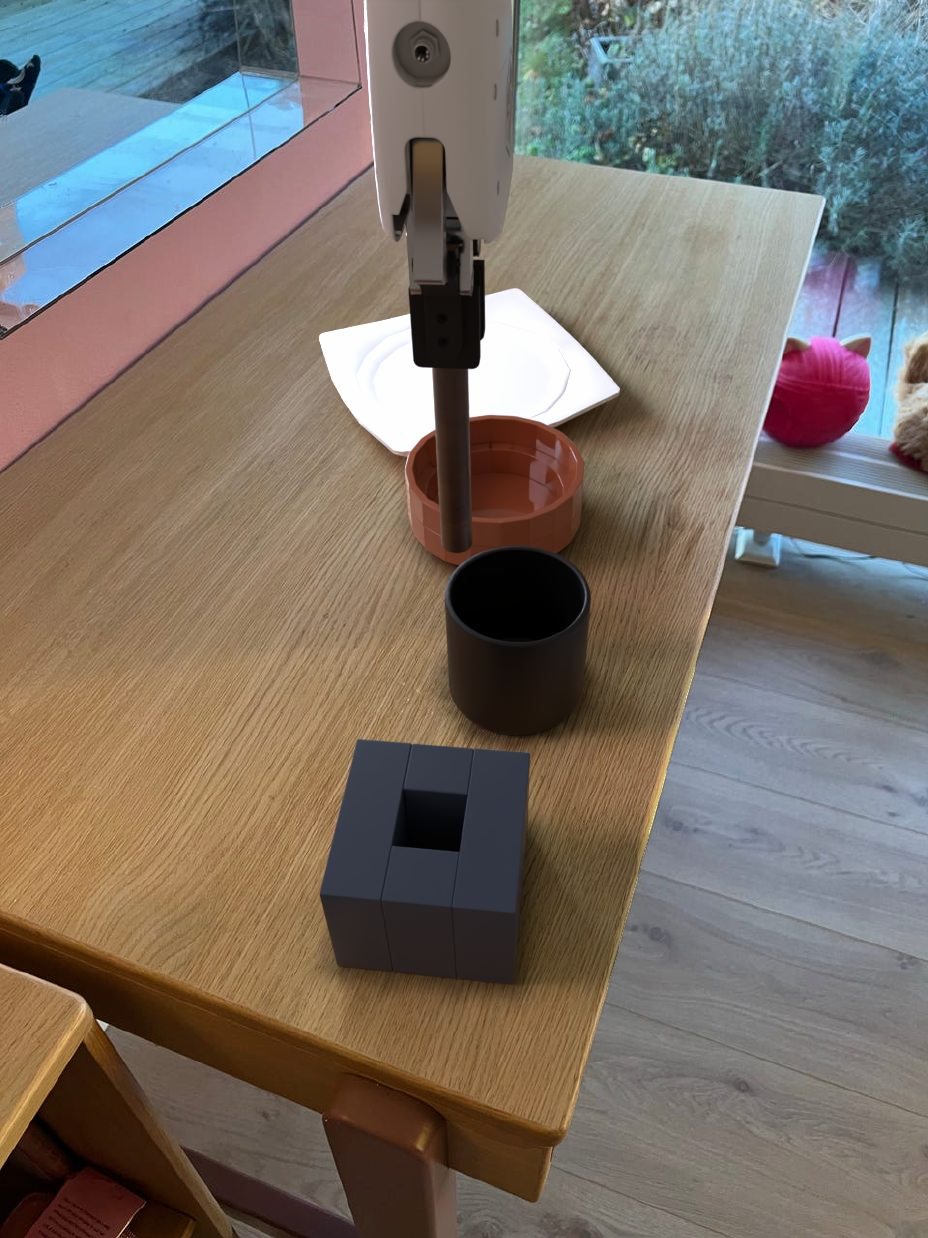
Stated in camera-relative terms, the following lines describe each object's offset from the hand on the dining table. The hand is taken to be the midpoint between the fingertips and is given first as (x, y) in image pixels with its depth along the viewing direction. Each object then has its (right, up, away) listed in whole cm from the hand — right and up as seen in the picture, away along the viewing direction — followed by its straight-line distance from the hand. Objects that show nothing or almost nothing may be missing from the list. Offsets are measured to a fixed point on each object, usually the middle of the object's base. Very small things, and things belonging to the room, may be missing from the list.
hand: (450, 348), depth 49 cm
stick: (0, -9, +9) cm, 13 cm away
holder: (-1, -30, +10) cm, 31 cm away
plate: (+1, +10, +49) cm, 50 cm away
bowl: (+3, -5, +35) cm, 35 cm away
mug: (+5, -17, +23) cm, 29 cm away
